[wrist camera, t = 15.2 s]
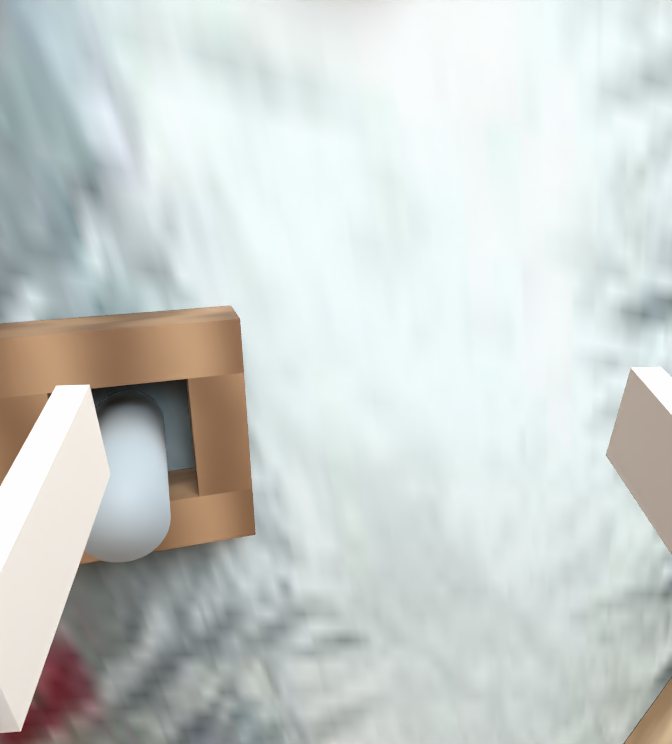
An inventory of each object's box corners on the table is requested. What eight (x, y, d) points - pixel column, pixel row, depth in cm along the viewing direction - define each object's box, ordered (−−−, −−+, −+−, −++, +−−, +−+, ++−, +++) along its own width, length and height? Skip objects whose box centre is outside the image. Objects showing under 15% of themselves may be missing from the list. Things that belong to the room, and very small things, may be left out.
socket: (230, 305, 38) (239, 318, 34) (245, 503, 42) (255, 534, 38) (-11, 324, 35) (-30, 341, 31) (28, 537, 38) (16, 574, 35)
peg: (176, 409, 39) (188, 499, 28) (143, 464, 39) (141, 575, 28) (114, 378, 37) (100, 461, 26) (80, 436, 38) (52, 541, 27)
